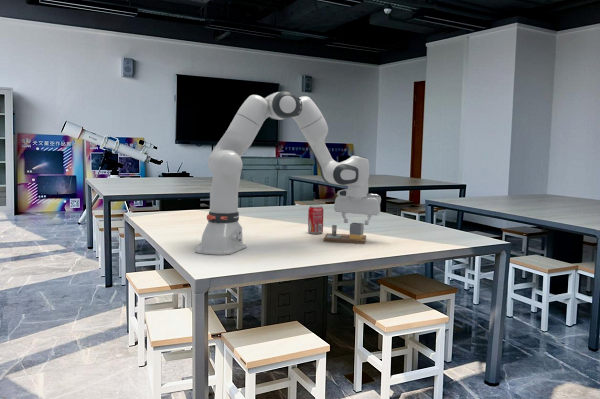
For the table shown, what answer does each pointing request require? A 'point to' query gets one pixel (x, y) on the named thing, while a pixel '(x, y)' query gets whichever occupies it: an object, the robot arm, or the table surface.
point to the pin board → (342, 237)
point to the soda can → (315, 219)
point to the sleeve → (356, 230)
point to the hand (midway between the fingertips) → (356, 223)
